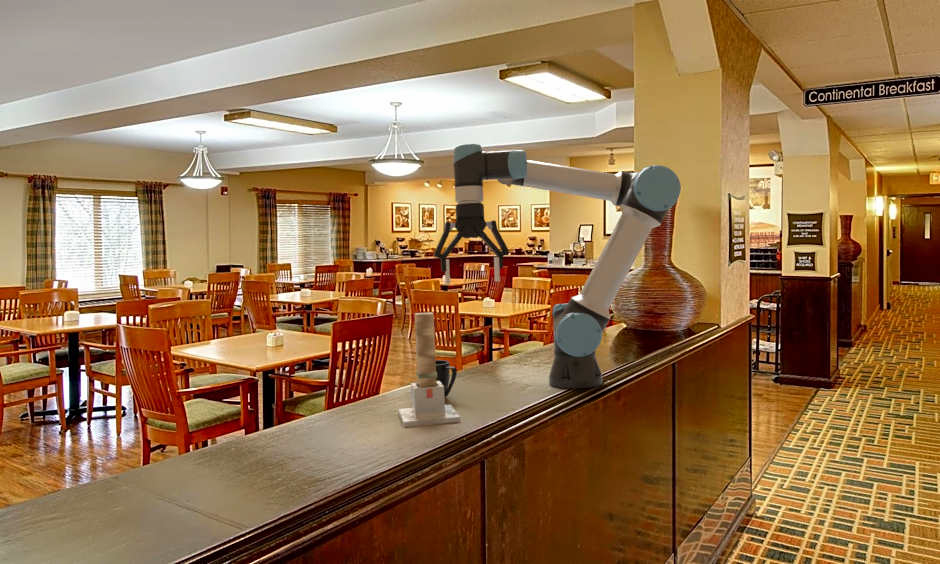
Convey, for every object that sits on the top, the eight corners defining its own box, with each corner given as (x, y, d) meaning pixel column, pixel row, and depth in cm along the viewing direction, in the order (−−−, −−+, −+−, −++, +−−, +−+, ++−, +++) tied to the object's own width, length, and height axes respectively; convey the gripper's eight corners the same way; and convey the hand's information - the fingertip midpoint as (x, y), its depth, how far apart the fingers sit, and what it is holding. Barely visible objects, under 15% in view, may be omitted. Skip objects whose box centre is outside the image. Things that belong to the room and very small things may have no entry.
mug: (444, 404, 174) (442, 367, 174) (414, 398, 183) (412, 363, 182) (466, 398, 180) (465, 362, 180) (436, 392, 189) (435, 358, 188)
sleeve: (450, 409, 168) (449, 377, 168) (460, 421, 156) (458, 387, 155) (398, 413, 166) (397, 381, 165) (404, 427, 153) (402, 392, 153)
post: (435, 390, 163) (431, 312, 162) (438, 394, 159) (434, 313, 158) (417, 391, 162) (413, 313, 161) (419, 395, 158) (415, 314, 157)
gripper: (511, 203, 186) (513, 279, 187) (421, 205, 181) (424, 284, 182) (518, 200, 179) (521, 280, 180) (425, 203, 174) (428, 285, 175)
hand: (472, 282), depth 181 cm, fingers open, 13 cm apart
